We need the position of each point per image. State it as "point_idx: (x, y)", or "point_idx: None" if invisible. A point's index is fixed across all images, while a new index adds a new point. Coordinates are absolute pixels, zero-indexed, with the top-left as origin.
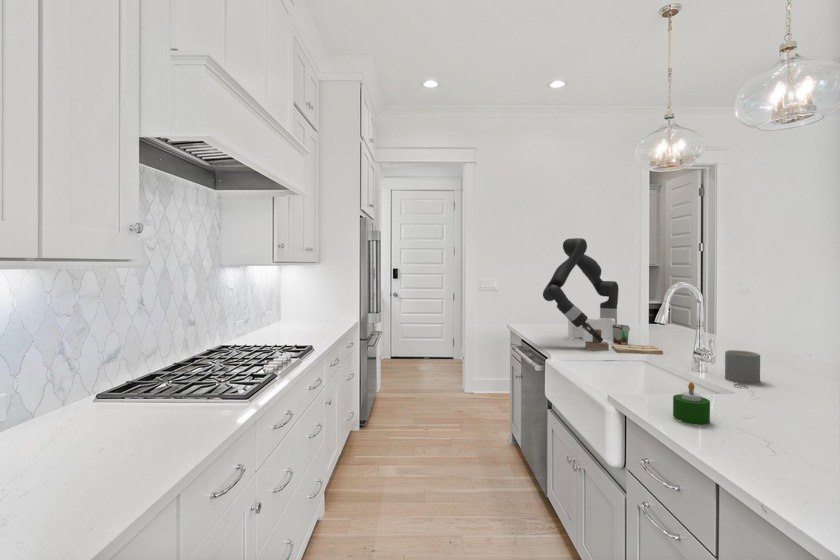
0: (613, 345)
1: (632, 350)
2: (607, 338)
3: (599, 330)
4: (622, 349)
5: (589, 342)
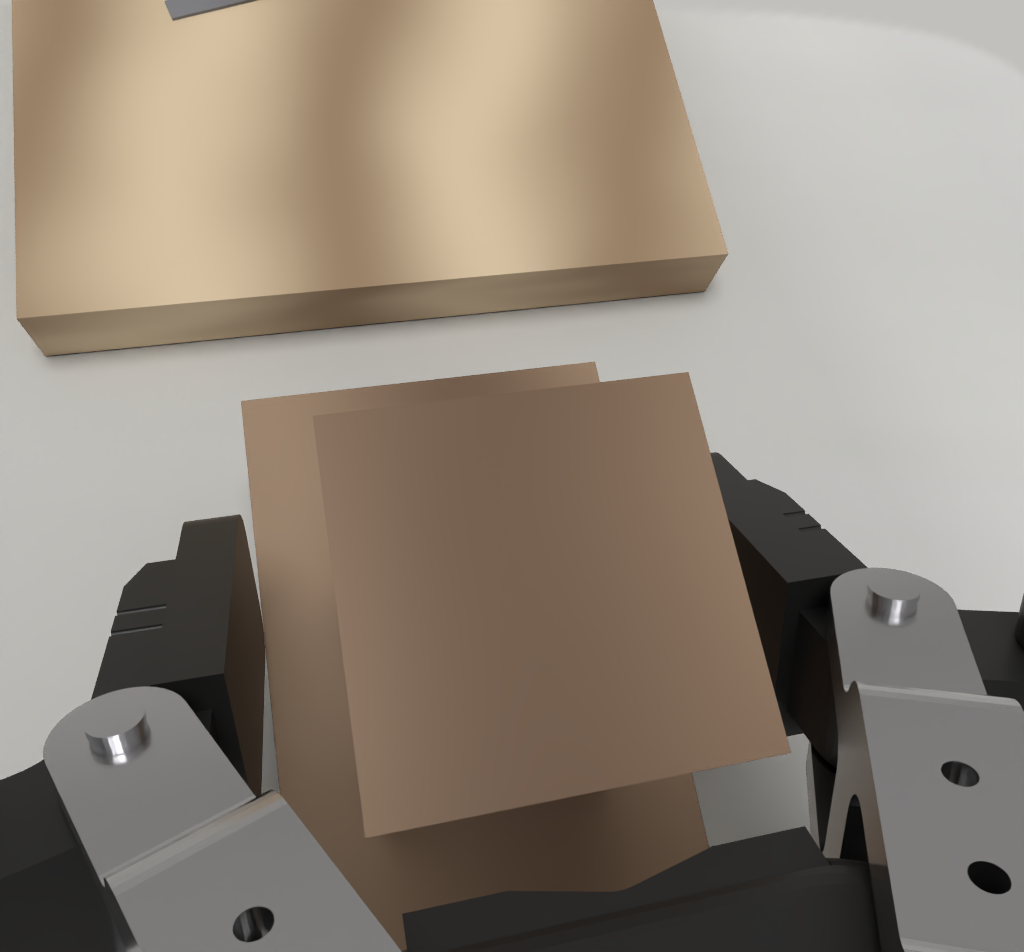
0: (184, 278)
1: (650, 11)
2: None
3: (705, 454)
4: (678, 156)
5: None
